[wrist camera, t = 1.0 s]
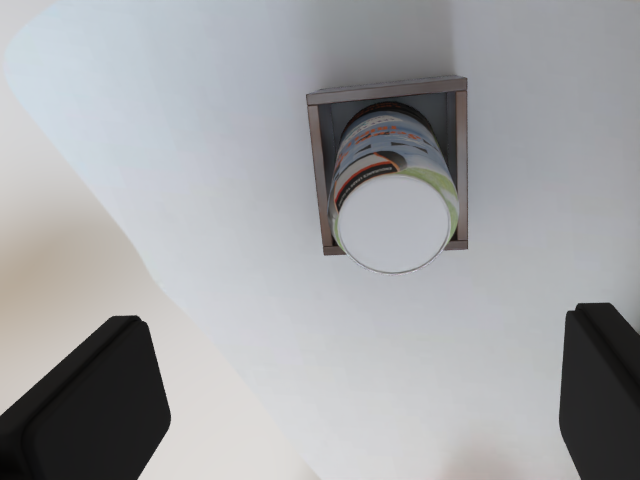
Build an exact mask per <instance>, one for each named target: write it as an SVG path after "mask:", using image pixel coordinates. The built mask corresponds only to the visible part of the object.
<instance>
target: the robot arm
mask: <svg viewBox="0 0 640 480" xmlns="http://www.w3.org/2000/svg"><path fill="white" fill-rule="evenodd" d="M170 421H171V414H170V409H169V405H168V401H167V397H166V393H165V390H164V386H163V382H162V378H161V374H160V370H159V367H158V362H157V358H156V355H155V351H154V347H153V343H152V339H151V335H150V331H149V327H148V325H147V323H146V322H144V321H142V320H141V319H140V318H139V317H138V316H136V315H135V316H112V317H111V318H109V319H108V320H107V321H106V322H105V323H104V324H102V325H101V326H100V327H99V328H98V329H97V330H96V331H95V332H94V333H92V334H91V335H90V336H89V337H88V338H87V339H86V340H85V341H84V342H82V343H81V344H80V345H79V346H78V347H77V348H76V349H75V350H73V351H72V352H71V353H70V354H69V355H68V356H67V357H66V358H65V359H63V360H62V361H61V362H60V363H59V364H58V365H57V366H56V367H54V368H53V369H52V370H51V371H50V372H49V373H48V374H47V375H46V376H44V377H43V378H42V379H41V380H40V381H39V382H38V383H36V384H35V385H34V386H33V387H32V388H31V389H30V390H29V391H28V392H27V393H25V394H24V395H23V396H22V397H21V398H20V399H19V400H18V401H16V402H15V403H14V404H13V405H12V406H11V407H10V408H9V409H7V410H6V411H5V412H4V413H3V414H2V415H1V416H0V480H137V479H138V477H139V476H140V474H141V473H142V471H143V470H144V468H145V466H146V465H147V463H148V462H149V460H150V458H151V457H152V455H153V453H154V452H155V450H156V449H157V447H158V445H159V444H160V442H161V440H162V439H163V437H164V436H165V434H166V432H167V431H168V429H169V426H170ZM559 425H560V431H561V434H562V437H563V440H564V442H565V444H566V446H567V449H568V451H569V453H570V455H571V458H572V460H573V462H574V464H575V467H576V469H577V471H578V473H579V476H580V478H581V480H640V336H639V334H638V333H637V332H636V331H635V330H634V329H633V328H632V327H631V325H630V324H629V323H628V322H627V321H626V320H625V319H624V318H623V316H622V315H621V314H620V313H619V312H618V311H617V310H616V309H615V307H614V306H613V305H612V304H610V303H578V305H577V306H576V308H575V311H568V312H567V314H566V321H565V336H564V351H563V366H562V381H561V396H560V411H559Z"/></svg>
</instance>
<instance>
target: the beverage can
mask: <svg viewBox="0 0 640 480" xmlns="http://www.w3.org/2000/svg"><path fill="white" fill-rule="evenodd" d="M327 217H328V223H329V227H330V230H331V233H332V235H333V237H334V239H335V240H336V242H337V244H338V245H339V246H340V247H341V249H342V250H343V251H344V252H345V253H346V254H347V255H348V256H349V257H350V258H351V259H352V260H353V261H354V262H356V263H357V264H358V265H360V266H361V267H363V268H365V269H367V270H369V271H372V272H374V273H378V274H383V275H403V274H407V273H412V272H414V271H417V270H420V269H421V268H423V267H425V266H427V265H428V264H430V263H431V262H432V261H433V260H435V259H436V258H437V257H438V255H439V254H440V253H441V252H442V250H443V249H444V247H445V246H446V245H447V244H448V242H449V241H450V239H451V237H452V236H453V234H454V232H455V229H456V226H457V223H458V218H459V199H458V194H457V190H456V188H455V185H454V183H453V180H452V178H451V175H450V173H449V170H448V167H447V165H446V162H445V160H444V157H443V155H442V152H441V150H440V147H439V144H438V142H437V139H436V137H435V134H434V132H433V130H432V127H431V125H430V124H429V122H428V121H427V119H426V118H425V117H424V116H423V115H422V114H421V113H420V112H419V111H417V110H416V109H414V108H413V107H410V106H408V105H406V104H402V103H398V102H381V103H376V104H373V105H370V106H368V107H366V108H364V109H362V110H361V111H359V112H358V113H357V114H355V115H354V116H353V117H352V118H351V120H350V121H349V122H348V123H347V125H346V126H345V128H344V130H343V133H342V135H341V139H340V143H339V148H338V153H337V158H336V163H335V168H334V173H333V179H332V184H331V189H330V194H329V199H328V206H327Z"/></svg>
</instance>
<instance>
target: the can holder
mask: <svg viewBox="0 0 640 480" xmlns="http://www.w3.org/2000/svg"><path fill="white" fill-rule="evenodd" d="M441 92H447V135H448V170H449V173H450V175H451V178H452V180H453V183H454V185H455V188H456V190H457V194H458V199H459V218H458V223H457V226H456V229H455V232H454V234H453V236H452V237H451V239H450V241H449V242H448V244H447V245H446V246H445V247H444V249H443V250H466V249H468V240H467V239H468V153H467V78H465V77H461V76H457V75H452V76H443V77H433V78H424V79H414V80H405V81H395V82H386V83H376V84H367V85H357V86H348V87H338V88H329V89H320V90H317V91H315V92H312V93H309V94H307V95H306V99H307V105H308V106H307V108H308V117H309V126H310V135H311V144H312V153H313V162H314V171H315V180H316V189H317V198H318V207H319V216H320V225H321V234H322V243H323V252H324V255H347V254H346V253H345V252H344V251H343V250H342V249H341V247H340V246H339V245H338V244H337V242H336V240H335V239H334V237H333V235H332V233H331V230H330V227H329V223H328V217H327V206H328V199H329V194H330V189H331V184H332V179H333V173H334V168H335V163H336V155H335V145H334V134H333V124H332V113H331V103H341V102H351V101H361V100H371V99H381V98H391V97H401V96H411V95H421V94H431V93H441Z"/></svg>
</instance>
